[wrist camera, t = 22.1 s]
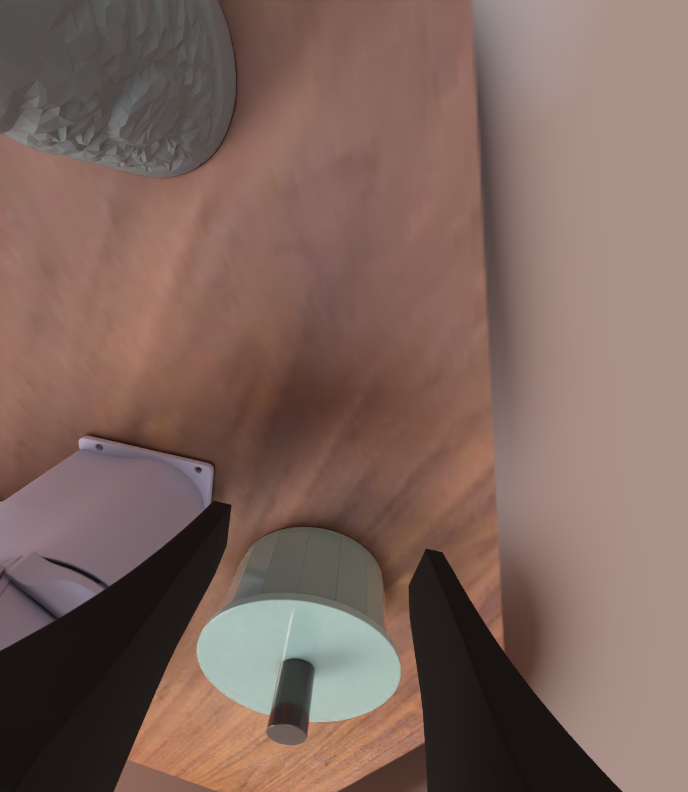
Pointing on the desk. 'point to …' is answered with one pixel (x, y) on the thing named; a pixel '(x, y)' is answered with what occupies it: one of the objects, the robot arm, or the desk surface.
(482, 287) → the desk surface
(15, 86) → the drinking glass
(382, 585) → the pot
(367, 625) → the lid
